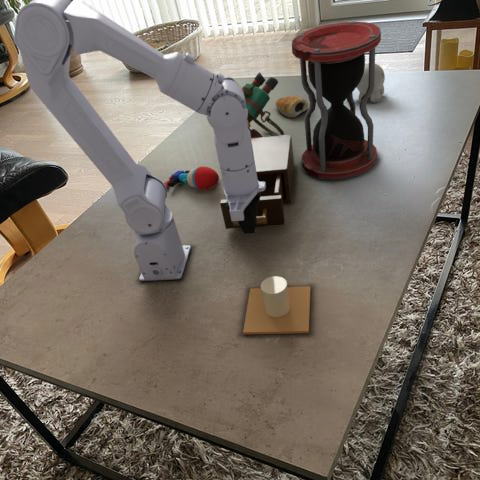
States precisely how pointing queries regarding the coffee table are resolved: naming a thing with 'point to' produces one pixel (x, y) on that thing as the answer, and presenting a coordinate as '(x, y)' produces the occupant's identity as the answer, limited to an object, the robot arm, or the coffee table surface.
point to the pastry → (291, 106)
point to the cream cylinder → (275, 296)
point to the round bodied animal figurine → (377, 85)
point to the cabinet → (275, 159)
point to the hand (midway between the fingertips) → (249, 231)
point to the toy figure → (195, 178)
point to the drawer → (264, 203)
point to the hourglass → (337, 97)
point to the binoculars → (259, 104)
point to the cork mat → (287, 324)
